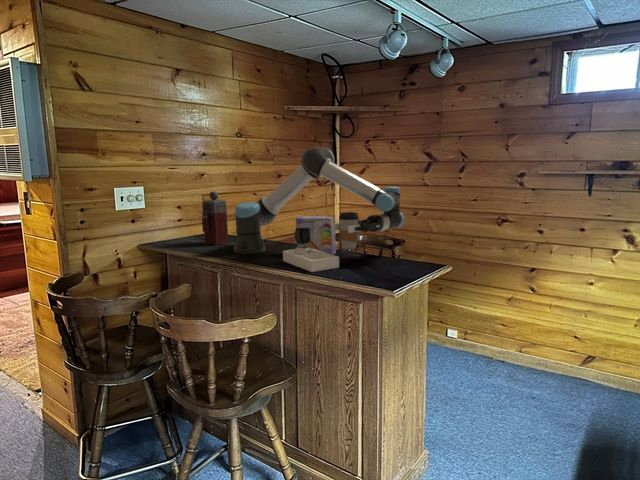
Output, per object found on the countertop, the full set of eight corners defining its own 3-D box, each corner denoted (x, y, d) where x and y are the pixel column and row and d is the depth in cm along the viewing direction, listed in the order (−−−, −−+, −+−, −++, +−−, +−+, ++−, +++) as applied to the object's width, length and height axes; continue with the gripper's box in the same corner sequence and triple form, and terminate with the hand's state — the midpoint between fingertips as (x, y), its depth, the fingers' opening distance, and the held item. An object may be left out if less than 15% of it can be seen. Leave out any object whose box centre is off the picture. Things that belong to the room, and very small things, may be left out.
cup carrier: (283, 260, 211) (282, 250, 210) (308, 257, 217) (308, 247, 217) (311, 272, 190) (311, 260, 189) (339, 267, 196) (339, 256, 195)
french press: (201, 245, 253) (197, 192, 248) (216, 241, 263) (213, 190, 258) (214, 246, 249) (210, 192, 244) (228, 242, 258) (225, 190, 253)
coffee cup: (349, 245, 211) (349, 211, 209) (362, 248, 205) (362, 213, 202) (335, 248, 206) (335, 213, 203) (348, 250, 200) (348, 215, 197)
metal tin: (292, 259, 210) (292, 247, 209) (306, 257, 213) (305, 246, 212) (300, 261, 204) (299, 250, 203) (314, 259, 207) (313, 248, 206)
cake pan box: (294, 253, 226) (293, 216, 223) (299, 251, 231) (298, 215, 228) (332, 256, 218) (331, 217, 215) (336, 254, 223) (335, 216, 220)
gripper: (395, 233, 208) (359, 240, 194) (360, 228, 224) (324, 234, 209) (395, 216, 207) (359, 222, 192) (360, 212, 223) (324, 217, 208)
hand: (341, 228), depth 201 cm, fingers closed on coffee cup, 8 cm apart
